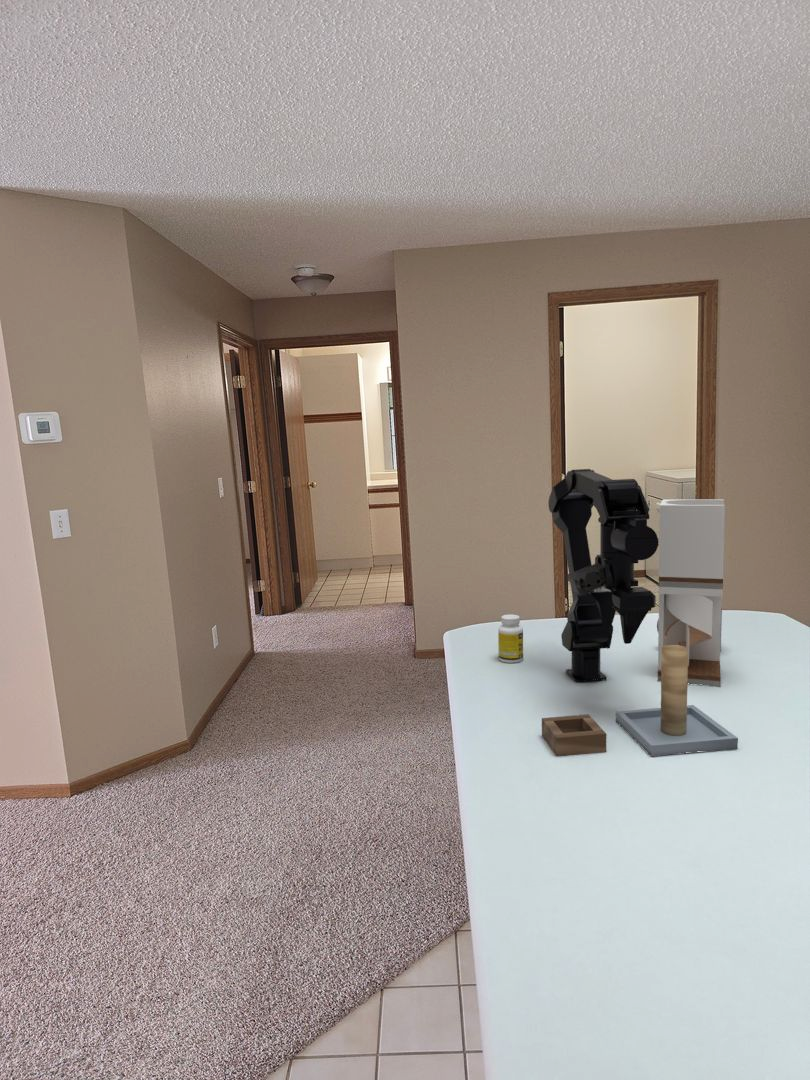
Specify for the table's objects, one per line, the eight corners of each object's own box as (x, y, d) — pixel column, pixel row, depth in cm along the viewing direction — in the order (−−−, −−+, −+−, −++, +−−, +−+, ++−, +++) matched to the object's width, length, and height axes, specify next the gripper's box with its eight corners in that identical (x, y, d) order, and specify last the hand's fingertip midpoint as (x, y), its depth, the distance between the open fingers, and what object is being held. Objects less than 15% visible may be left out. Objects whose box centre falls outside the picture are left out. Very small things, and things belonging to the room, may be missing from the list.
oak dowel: (656, 727, 122) (657, 645, 120) (679, 725, 123) (680, 644, 121) (667, 736, 118) (668, 653, 116) (691, 734, 119) (692, 651, 117)
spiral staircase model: (657, 681, 145) (659, 505, 140) (660, 664, 155) (662, 499, 150) (720, 687, 141) (725, 505, 136) (719, 669, 151) (723, 499, 145)
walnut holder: (541, 735, 122) (541, 718, 122) (588, 731, 123) (588, 714, 123) (556, 756, 115) (556, 737, 114) (606, 751, 115) (606, 733, 115)
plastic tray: (615, 721, 127) (615, 711, 127) (693, 714, 128) (693, 705, 128) (651, 756, 113) (651, 745, 113) (737, 748, 114) (737, 738, 114)
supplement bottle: (522, 663, 159) (522, 620, 158) (497, 663, 160) (496, 619, 159) (524, 656, 164) (523, 613, 163) (499, 655, 165) (498, 613, 164)
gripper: (556, 545, 138) (556, 625, 140) (592, 562, 120) (592, 654, 122) (613, 541, 139) (613, 621, 142) (657, 558, 121) (656, 650, 123)
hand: (616, 636), depth 132 cm, fingers open, 9 cm apart
